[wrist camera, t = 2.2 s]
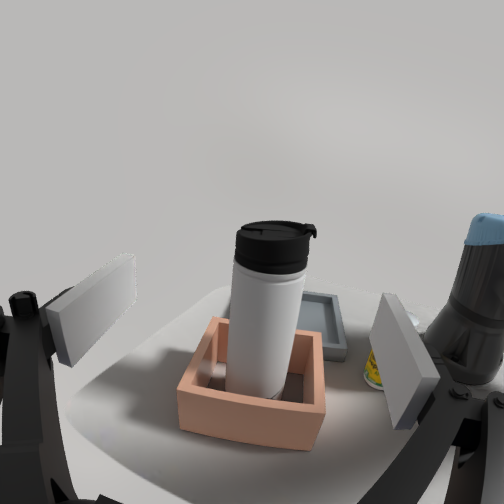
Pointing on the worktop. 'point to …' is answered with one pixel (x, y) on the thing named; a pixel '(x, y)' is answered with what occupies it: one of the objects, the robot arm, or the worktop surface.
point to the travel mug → (265, 305)
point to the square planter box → (253, 408)
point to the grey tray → (324, 323)
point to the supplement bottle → (371, 367)
